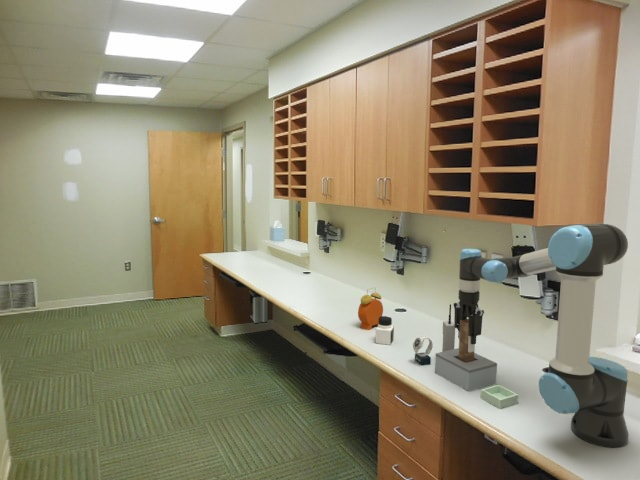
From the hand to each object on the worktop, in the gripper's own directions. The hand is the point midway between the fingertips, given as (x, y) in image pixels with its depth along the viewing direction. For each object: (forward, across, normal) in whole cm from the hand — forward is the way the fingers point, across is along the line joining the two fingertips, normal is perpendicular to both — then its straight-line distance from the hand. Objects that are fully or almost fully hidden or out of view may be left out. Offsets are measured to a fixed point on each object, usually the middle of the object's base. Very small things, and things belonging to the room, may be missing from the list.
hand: (466, 349), depth 182 cm
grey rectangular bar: (+12, +15, -5) cm, 20 cm away
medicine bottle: (+11, +46, +5) cm, 48 cm away
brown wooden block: (+5, 0, 0) cm, 5 cm away
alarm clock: (+11, +67, -1) cm, 68 cm away
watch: (+12, +19, +5) cm, 23 cm away
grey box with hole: (+12, 0, 0) cm, 12 cm away
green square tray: (+12, -19, +2) cm, 22 cm away
